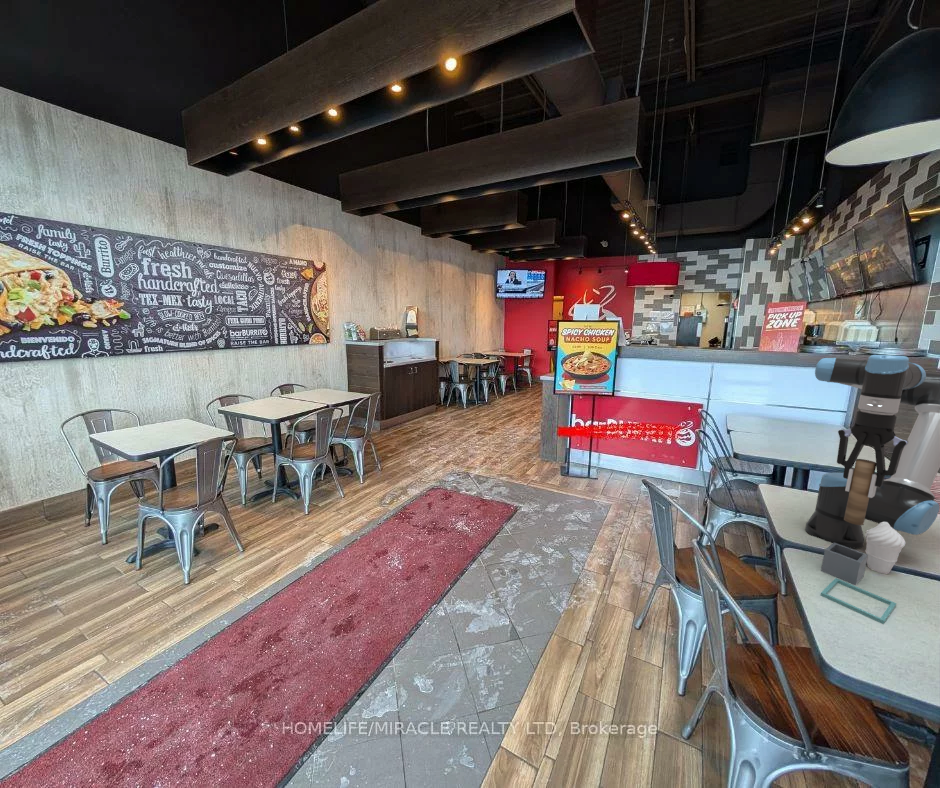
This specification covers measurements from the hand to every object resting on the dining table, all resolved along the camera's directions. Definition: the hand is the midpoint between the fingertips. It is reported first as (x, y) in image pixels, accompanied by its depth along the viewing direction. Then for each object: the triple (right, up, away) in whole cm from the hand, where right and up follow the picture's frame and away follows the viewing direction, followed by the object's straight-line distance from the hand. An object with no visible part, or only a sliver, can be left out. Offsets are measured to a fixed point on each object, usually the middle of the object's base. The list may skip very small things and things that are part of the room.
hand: (859, 493), depth 108 cm
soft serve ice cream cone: (+14, -26, +9) cm, 31 cm away
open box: (+1, -26, +6) cm, 27 cm away
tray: (-6, -28, -5) cm, 29 cm away
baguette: (0, -9, +1) cm, 9 cm away
